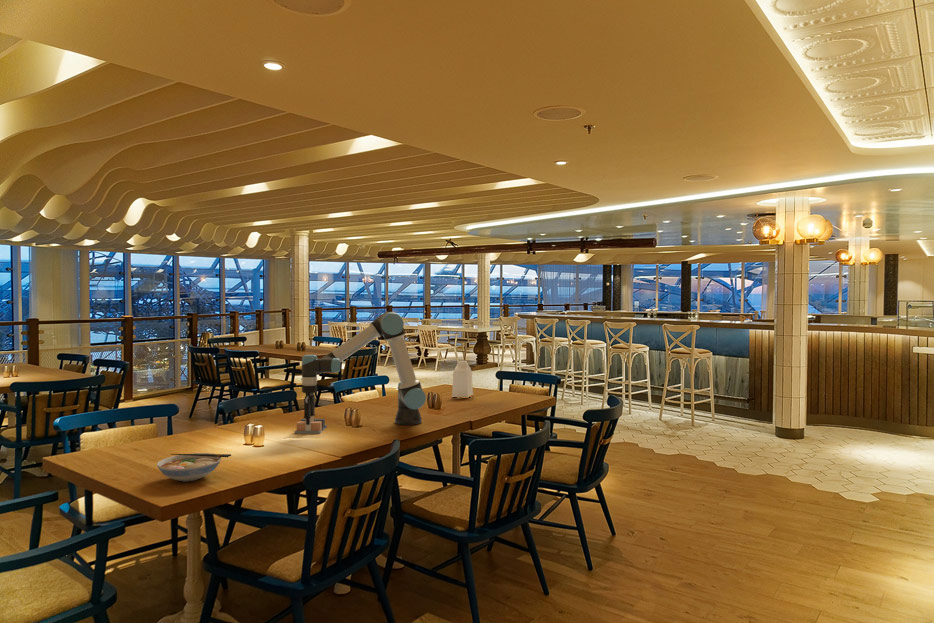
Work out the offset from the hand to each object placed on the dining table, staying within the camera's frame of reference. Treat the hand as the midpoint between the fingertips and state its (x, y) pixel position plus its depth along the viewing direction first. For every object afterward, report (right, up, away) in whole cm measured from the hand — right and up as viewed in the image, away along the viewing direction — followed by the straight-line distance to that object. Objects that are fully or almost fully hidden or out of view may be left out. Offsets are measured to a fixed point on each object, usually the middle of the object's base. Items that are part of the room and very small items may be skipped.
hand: (309, 429), depth 308 cm
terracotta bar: (0, -1, 0) cm, 1 cm away
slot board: (0, -2, +3) cm, 4 cm away
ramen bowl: (-25, -4, -79) cm, 83 cm away
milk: (+79, 0, +118) cm, 142 cm away
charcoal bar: (0, -1, +7) cm, 7 cm away
